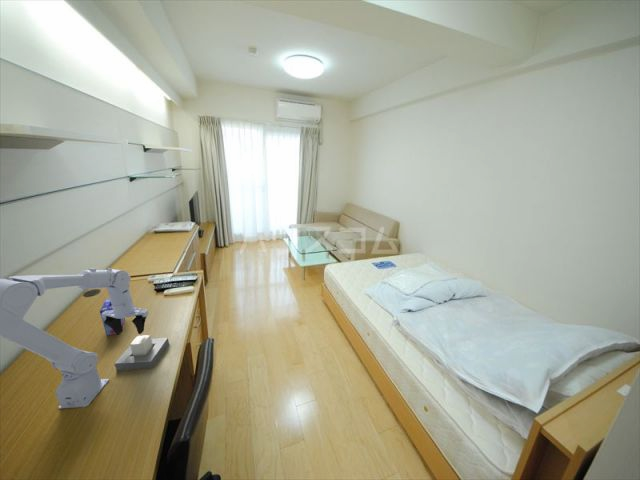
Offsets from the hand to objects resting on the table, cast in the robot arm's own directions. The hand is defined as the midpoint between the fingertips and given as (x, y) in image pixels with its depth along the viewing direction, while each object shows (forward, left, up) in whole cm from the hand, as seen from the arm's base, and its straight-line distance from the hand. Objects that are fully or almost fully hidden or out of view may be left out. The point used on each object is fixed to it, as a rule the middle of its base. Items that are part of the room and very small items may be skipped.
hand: (130, 332), depth 90 cm
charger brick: (-2, -4, -9) cm, 10 cm away
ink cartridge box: (+16, +17, -10) cm, 26 cm away
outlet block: (-2, -4, -9) cm, 10 cm away
